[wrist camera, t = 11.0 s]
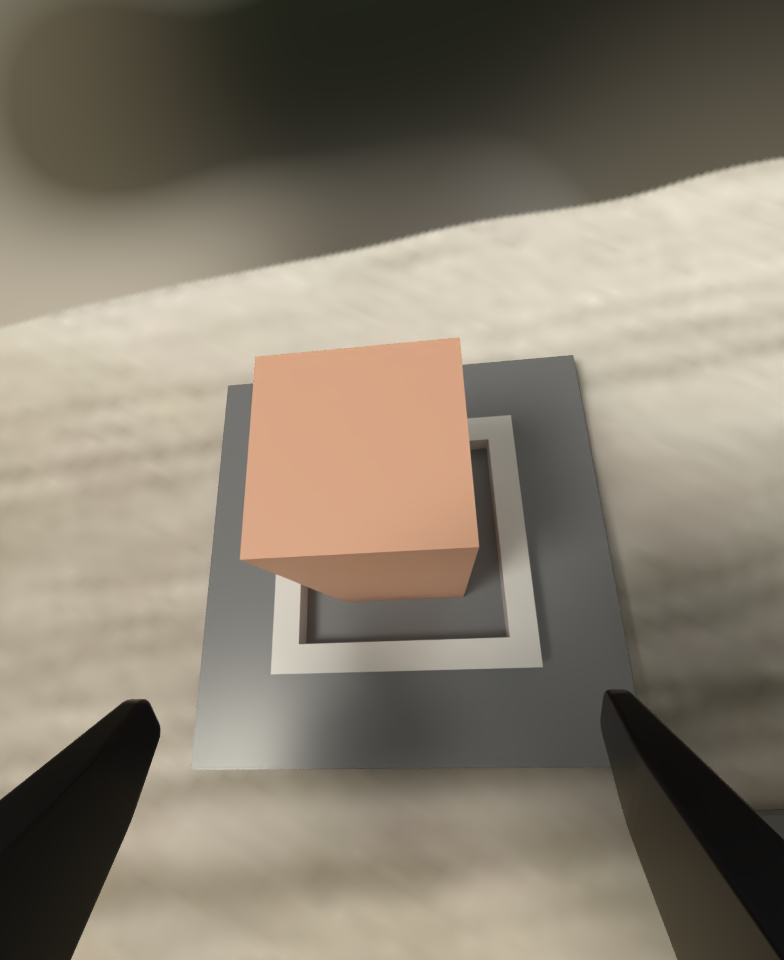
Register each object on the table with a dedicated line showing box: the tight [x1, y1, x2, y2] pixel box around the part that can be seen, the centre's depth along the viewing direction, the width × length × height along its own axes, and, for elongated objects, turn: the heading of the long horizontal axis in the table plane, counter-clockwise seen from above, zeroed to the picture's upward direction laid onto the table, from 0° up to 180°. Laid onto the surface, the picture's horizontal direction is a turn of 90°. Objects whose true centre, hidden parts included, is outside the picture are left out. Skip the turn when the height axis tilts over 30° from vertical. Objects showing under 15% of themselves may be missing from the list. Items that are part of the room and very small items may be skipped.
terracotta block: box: [240, 338, 479, 602], centre depth 14 cm, size 5×5×10 cm
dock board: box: [191, 355, 636, 770], centre depth 19 cm, size 16×16×2 cm
